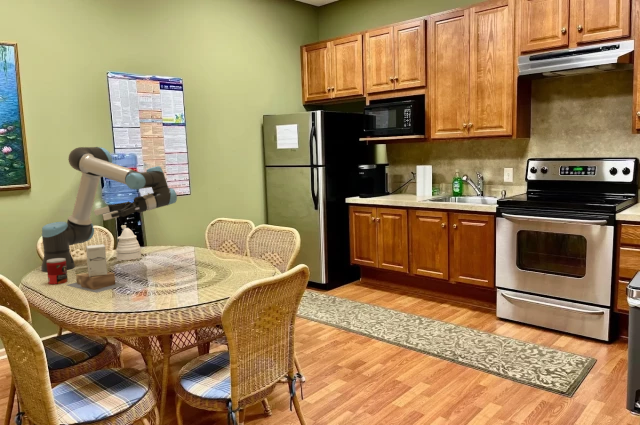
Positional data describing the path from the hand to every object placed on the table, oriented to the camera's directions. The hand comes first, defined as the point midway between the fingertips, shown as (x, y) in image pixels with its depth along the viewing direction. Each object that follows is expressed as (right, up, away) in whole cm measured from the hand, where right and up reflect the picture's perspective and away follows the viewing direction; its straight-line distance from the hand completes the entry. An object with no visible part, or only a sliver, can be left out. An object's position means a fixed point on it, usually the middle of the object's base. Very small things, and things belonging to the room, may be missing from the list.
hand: (98, 215), depth 224 cm
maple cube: (-5, -30, -4) cm, 31 cm away
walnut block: (+4, -31, -8) cm, 32 cm away
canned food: (-18, -31, -1) cm, 36 cm away
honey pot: (-7, -24, +53) cm, 58 cm away
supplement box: (+4, -26, -9) cm, 28 cm away
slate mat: (+2, -31, -7) cm, 32 cm away
